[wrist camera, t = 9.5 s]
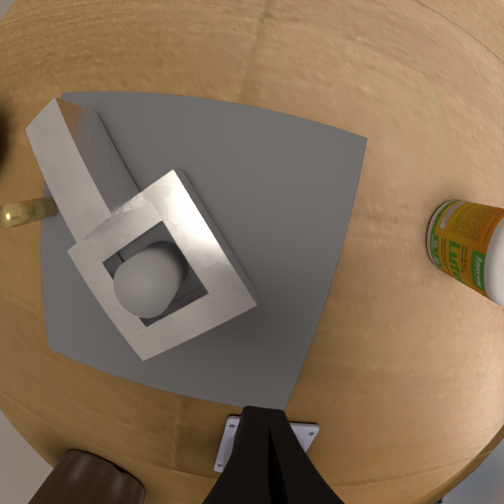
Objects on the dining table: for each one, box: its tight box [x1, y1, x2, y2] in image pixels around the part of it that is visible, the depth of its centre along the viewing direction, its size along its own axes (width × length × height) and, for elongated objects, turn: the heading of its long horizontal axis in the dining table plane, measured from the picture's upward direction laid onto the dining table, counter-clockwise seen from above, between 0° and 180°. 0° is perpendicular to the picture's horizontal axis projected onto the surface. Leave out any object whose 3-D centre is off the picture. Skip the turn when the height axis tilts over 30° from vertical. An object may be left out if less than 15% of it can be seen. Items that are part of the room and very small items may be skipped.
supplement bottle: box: [427, 200, 504, 306], centre depth 12 cm, size 5×5×10 cm
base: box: [41, 92, 367, 411], centre depth 15 cm, size 20×20×5 cm
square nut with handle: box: [26, 97, 257, 361], centre depth 13 cm, size 14×8×4 cm, turn 30°
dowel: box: [0, 196, 59, 230], centre depth 13 cm, size 1×1×5 cm
